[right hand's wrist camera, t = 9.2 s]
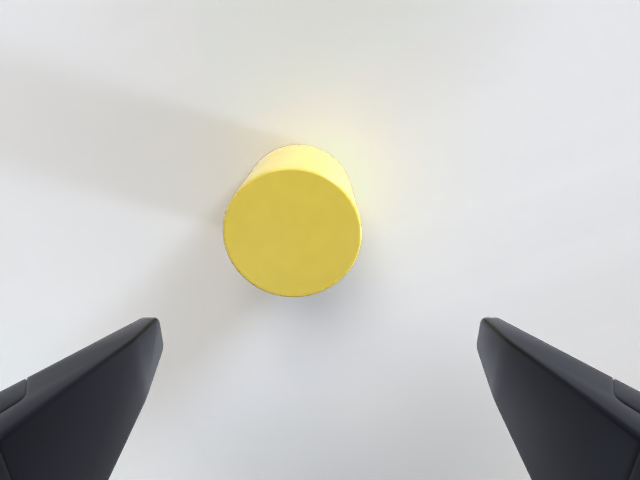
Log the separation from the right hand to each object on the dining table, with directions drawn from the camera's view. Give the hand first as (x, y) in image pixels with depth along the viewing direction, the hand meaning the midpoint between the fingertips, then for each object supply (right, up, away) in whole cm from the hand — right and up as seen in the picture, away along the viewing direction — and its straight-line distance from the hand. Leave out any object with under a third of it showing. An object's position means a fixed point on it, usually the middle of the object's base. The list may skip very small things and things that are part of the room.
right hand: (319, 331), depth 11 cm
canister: (-1, +4, +7) cm, 8 cm away
